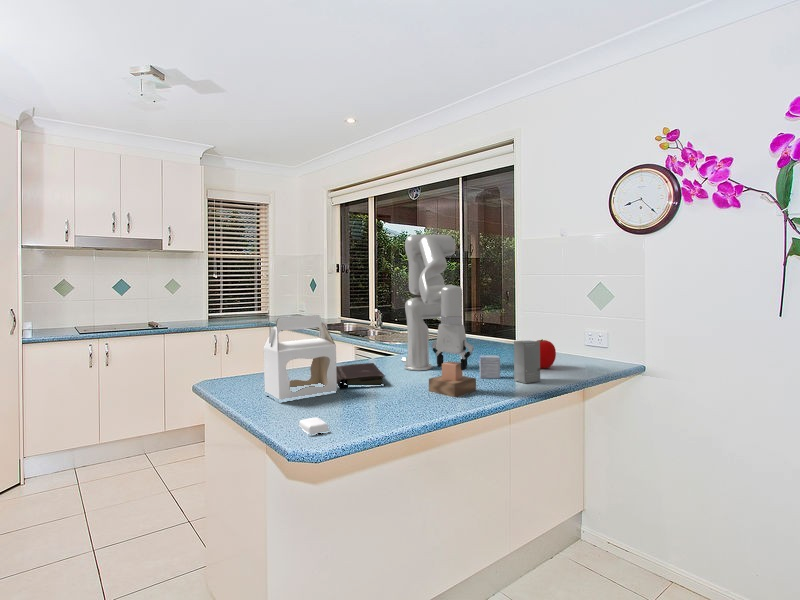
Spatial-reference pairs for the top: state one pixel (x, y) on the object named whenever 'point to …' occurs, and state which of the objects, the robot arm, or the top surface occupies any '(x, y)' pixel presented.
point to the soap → (313, 425)
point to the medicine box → (489, 367)
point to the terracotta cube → (451, 371)
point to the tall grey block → (527, 361)
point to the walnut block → (452, 386)
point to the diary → (359, 374)
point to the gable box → (283, 352)
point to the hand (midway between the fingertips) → (451, 368)
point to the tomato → (546, 353)
